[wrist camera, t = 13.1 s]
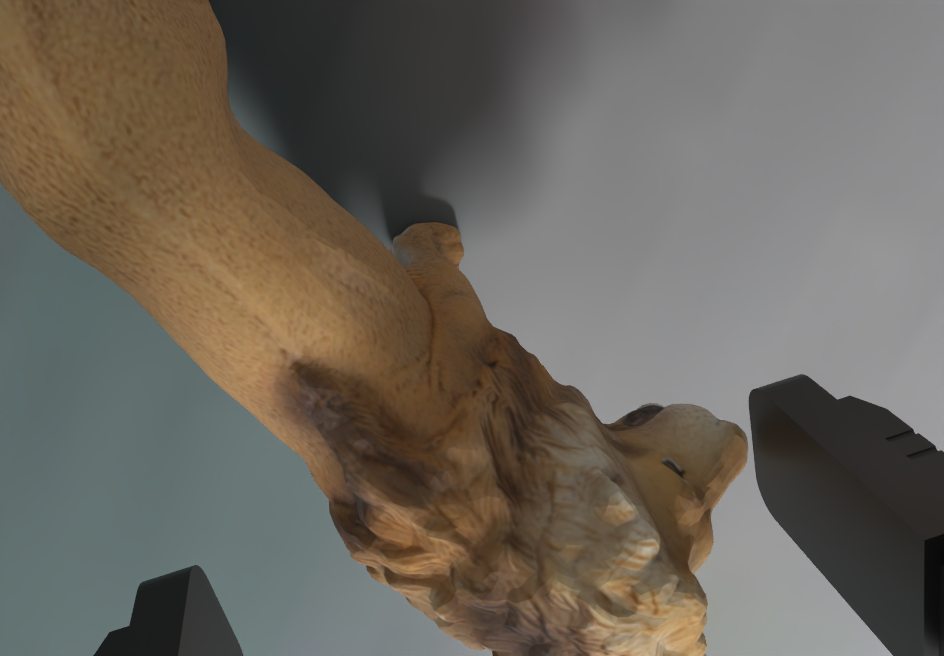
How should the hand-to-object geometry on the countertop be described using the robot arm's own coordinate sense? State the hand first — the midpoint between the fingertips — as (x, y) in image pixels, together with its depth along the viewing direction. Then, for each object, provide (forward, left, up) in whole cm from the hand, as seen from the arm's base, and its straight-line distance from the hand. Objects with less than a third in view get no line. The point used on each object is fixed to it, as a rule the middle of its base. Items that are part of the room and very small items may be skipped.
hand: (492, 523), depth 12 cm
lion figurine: (+1, -4, -7) cm, 8 cm away
